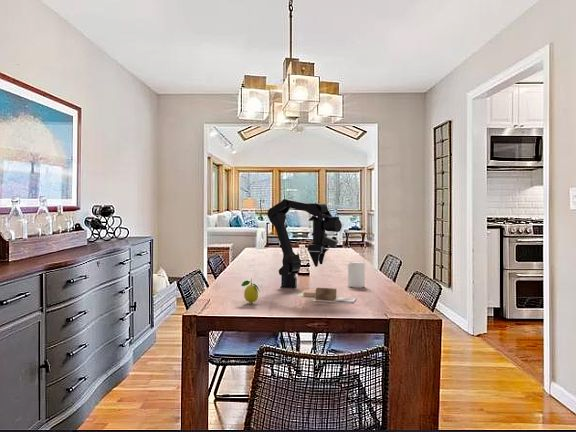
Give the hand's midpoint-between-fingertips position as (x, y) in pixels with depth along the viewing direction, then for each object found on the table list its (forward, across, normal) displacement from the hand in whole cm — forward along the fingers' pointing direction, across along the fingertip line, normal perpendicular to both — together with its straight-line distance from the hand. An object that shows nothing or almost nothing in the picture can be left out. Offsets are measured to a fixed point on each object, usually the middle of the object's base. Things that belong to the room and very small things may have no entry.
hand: (318, 265), depth 234 cm
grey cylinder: (+12, +20, -14) cm, 27 cm away
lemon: (+12, -36, +19) cm, 43 cm away
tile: (+11, -7, -1) cm, 13 cm away
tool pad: (+12, -19, -11) cm, 25 cm away
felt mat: (+12, -10, -1) cm, 15 cm away
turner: (+12, -19, -12) cm, 25 cm away
